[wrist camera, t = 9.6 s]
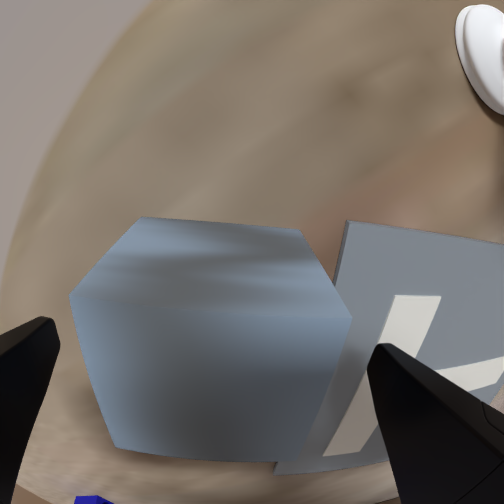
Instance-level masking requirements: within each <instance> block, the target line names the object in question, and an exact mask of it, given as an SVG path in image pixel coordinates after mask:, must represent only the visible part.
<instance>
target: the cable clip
mask: <svg viewBox="0 0 504 504" xmlns="http://www.w3.org/2000/svg"><path fill="white" fill-rule="evenodd" d="M74 504H114V503H112V502H110V501H107V500H105V499H103V498H102V497H100V496H98V495H97V496H76V499H75V502H74Z"/></svg>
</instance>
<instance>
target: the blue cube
mask: <svg viewBox="0 0 504 504" xmlns="http://www.w3.org/2000/svg"><path fill="white" fill-rule="evenodd" d="M69 299H70V304H71V309H72V314H73V318H74V323H75V327H76V331H77V335H78V339H79V343H80V347H81V351H82V354H83V358H84V361H85V365H86V368H87V371H88V375H89V378H90V381H91V384H92V387H93V390H94V393H95V396H96V399H97V402H98V404H99V407H100V410H101V413H102V415H103V418H104V420H105V423H106V426H107V428H108V430H109V433H110V435H111V438H112V440H113V442H114V445H115V447H117V448H121V449H126V450H131V451H137V452H142V453H148V454H154V455H161V456H168V457H176V458H185V459H195V460H208V461H226V462H281V461H296V460H297V458H298V456H299V454H300V451H301V449H302V447H303V445H304V443H305V441H306V439H307V436H308V434H309V432H310V430H311V427H312V425H313V423H314V421H315V418H316V416H317V414H318V411H319V409H320V406H321V404H322V401H323V399H324V397H325V394H326V392H327V389H328V386H329V384H330V381H331V379H332V376H333V373H334V371H335V368H336V365H337V363H338V360H339V357H340V354H341V351H342V349H343V346H344V343H345V340H346V337H347V334H348V331H349V328H350V325H351V322H352V316H351V314H350V313H349V311H348V309H347V307H346V306H345V304H344V302H343V301H342V299H341V297H340V295H339V294H338V292H337V290H336V289H335V287H334V285H333V284H332V282H331V280H330V279H329V277H328V275H327V274H326V272H325V270H324V269H323V267H322V265H321V264H320V262H319V261H318V259H317V257H316V256H315V254H314V252H313V251H312V249H311V248H310V246H309V244H308V243H307V241H306V240H305V238H304V236H303V235H302V233H301V232H300V230H298V229H288V228H277V227H266V226H255V225H244V224H232V223H220V222H207V221H194V220H180V219H166V218H151V217H140V218H139V219H138V220H137V221H136V222H135V223H134V224H133V225H132V226H131V227H130V228H129V230H128V231H127V232H126V233H125V234H124V235H123V236H122V237H121V238H120V239H119V240H118V241H117V242H116V243H115V244H114V245H113V246H112V247H111V248H110V249H109V250H108V251H107V253H106V254H105V255H104V256H103V257H102V258H101V259H100V260H99V261H98V262H97V263H96V264H95V266H94V267H93V268H92V269H91V270H90V271H89V272H88V273H87V275H86V276H85V277H84V278H83V279H82V280H81V281H80V283H79V284H78V285H77V286H76V287H75V288H74V290H73V291H72V292H71V293H70V294H69Z"/></svg>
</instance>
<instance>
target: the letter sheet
mask: <svg viewBox="0 0 504 504" xmlns="http://www.w3.org/2000/svg"><path fill="white" fill-rule="evenodd" d="M332 284H333V285H334V287H335V289H336V290H337V292H338V294H339V295H340V297H341V299H342V301H343V302H344V304H345V306H346V307H347V309H348V311H349V313H350V314H351V316H352V322H351V325H350V328H349V331H348V334H347V337H346V340H345V343H344V346H343V349H342V351H341V354H340V357H339V360H338V363H337V365H336V368H335V371H334V373H333V376H332V379H331V381H330V384H329V386H328V389H327V392H326V394H325V397H324V399H323V401H322V404H321V406H320V409H319V411H318V414H317V416H316V418H315V421H314V423H313V425H312V427H311V430H310V432H309V434H308V436H307V439H306V441H305V443H304V445H303V447H302V449H301V451H300V454H299V456H298V458H297V460H296V461H281V462H276V465H275V467H274V470H273V476H274V475H293V474H306V473H316V472H325V471H333V470H340V469H346V468H353V467H358V466H364V465H369V464H374V463H379V462H383V461H388V460H389V457H388V454H387V450H386V447H385V444H384V440H383V437H382V434H381V431H380V427H379V424H378V421H377V417H376V413H375V409H374V404H373V399H372V394H371V389H370V385H369V380H368V376H367V365H368V362H369V360H370V358H371V355H372V353H373V350H374V348H375V346H376V345H377V344H379V343H391V344H393V345H395V346H396V347H398V348H399V349H401V350H403V351H404V352H406V353H407V354H409V355H410V356H412V357H414V358H415V359H417V360H418V361H420V362H421V363H423V364H425V365H426V366H428V367H429V368H431V369H432V370H434V371H436V372H437V373H439V374H440V375H442V376H444V377H445V378H447V379H448V380H450V381H451V382H453V383H455V384H456V385H458V386H459V387H461V388H462V389H464V390H466V391H467V392H469V393H470V394H472V395H474V396H475V397H477V398H478V399H480V400H481V401H483V402H485V403H486V404H488V405H489V404H490V403H491V401H492V400H493V398H494V397H495V396H496V394H497V393H498V391H499V390H500V388H501V387H502V385H503V384H504V244H499V243H493V242H488V241H482V240H477V239H471V238H465V237H459V236H453V235H447V234H441V233H435V232H428V231H422V230H415V229H409V228H402V227H395V226H388V225H380V224H373V223H366V222H358V221H350V220H346V225H345V230H344V235H343V239H342V244H341V249H340V253H339V258H338V262H337V267H336V271H335V275H334V279H333V283H332Z"/></svg>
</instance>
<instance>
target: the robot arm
mask: <svg viewBox="0 0 504 504" xmlns="http://www.w3.org/2000/svg"><path fill="white" fill-rule="evenodd" d="M59 350H60V340H59V336H58V333H57V329H56V325H55V322H54V320H53V319H52V318H48V317H44V316H40V317H37V318H35V319H33V320H31V321H29V322H27V323H25V324H22V325H20V326H18V327H16V328H14V329H12V330H10V331H8V332H6V333H4V334H2V335H0V504H11V500H12V496H13V492H14V488H15V484H16V480H17V476H18V473H19V469H20V466H21V462H22V459H23V456H24V453H25V449H26V446H27V443H28V440H29V437H30V434H31V432H32V429H33V426H34V423H35V420H36V418H37V415H38V412H39V410H40V407H41V405H42V402H43V400H44V397H45V394H46V392H47V388H48V385H49V382H50V379H51V375H52V372H53V369H54V366H55V363H56V359H57V356H58V353H59ZM367 376H368V380H369V385H370V389H371V394H372V399H373V404H374V409H375V413H376V417H377V421H378V424H379V427H380V431H381V434H382V437H383V440H384V444H385V447H386V450H387V454H388V457H389V461H390V464H391V468H392V471H393V475H394V478H395V482H396V486H397V490H398V493H399V497H400V501H401V504H504V414H503V413H501V412H499V411H498V410H496V409H494V408H493V407H491V406H489V405H488V404H486V403H485V402H483V401H481V400H480V399H478V398H477V397H475V396H474V395H472V394H470V393H469V392H467V391H466V390H464V389H462V388H461V387H459V386H458V385H456V384H455V383H453V382H451V381H450V380H448V379H447V378H445V377H444V376H442V375H440V374H439V373H437V372H436V371H434V370H432V369H431V368H429V367H428V366H426V365H425V364H423V363H421V362H420V361H418V360H417V359H415V358H414V357H412V356H410V355H409V354H407V353H406V352H404V351H403V350H401V349H399V348H398V347H396V346H395V345H393V344H391V343H379V344H377V345H376V346H375V348H374V350H373V353H372V355H371V358H370V360H369V362H368V365H367Z"/></svg>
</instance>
